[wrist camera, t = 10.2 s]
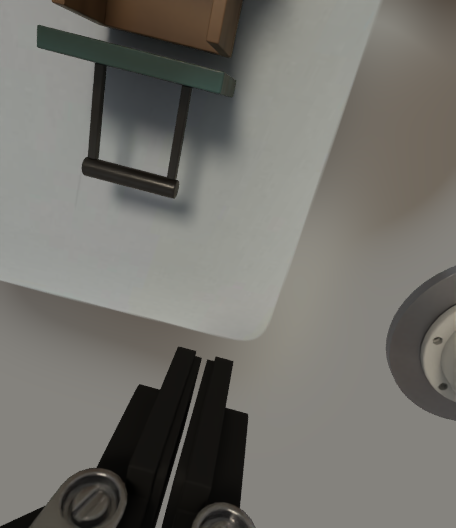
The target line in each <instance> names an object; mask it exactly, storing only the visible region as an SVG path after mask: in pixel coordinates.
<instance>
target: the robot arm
mask: <svg viewBox="0 0 456 528" xmlns="http://www.w3.org/2000/svg"><path fill="white" fill-rule="evenodd" d="M195 354H196V351H194V350H190V349H186V348H182V347H178V348H177V351H176V353H175V355H174V358H173V360H172V363H171V365H170V367H169V370H168V372H167V375H166V377H165V380H164V382H163V384H162V387H161V389H160V390H158V389H155V388H152V387H148V386H144V385H140V384H139V386H138V387H137V389H136V390H135V392H134V395H133V396H132V398H131V400H130V403H129V404H128V406H127V408H126V410H125V412H124V414H123V416H122V418H121V420H120V422H119V424H118V426H117V428H116V430H115V432H114V434H113V436H112V438H111V440H110V442H109V444H108V446H107V448H106V450H105V452H104V454H103V456H102V458H101V460H100V462H99V464H98V466H97V468H89V469H85V470H82V471H79V472H77V473H76V474H74V475H72V476H71V477H69V478H68V479H67V480H66V481H65V482H64V483H63V484H62V485H61V486H60V488H59V489H58V490H57V491H56V493H55V494H54V495H53V497H52V498H51V499H50V501H49V502H48V503H47V505H46V506H44V507H41V508H39V509H37V510H35V511H33V512H31V513H28V514H26V515H24V516H22V517H20V518H18V519H15V520H13V521H11V522H9V523H7V524H5V525H3V526H0V528H155V526H156V522H157V519H158V516H159V512H160V509H161V505H162V502H163V498H164V495H165V492H166V488H167V485H168V482H169V478H170V475H171V471H172V467H173V464H174V461H175V458H176V454H177V451H178V447H179V443H180V440H181V437H182V433H183V430H184V426H185V422H186V419H187V414H188V411H189V407H190V403H191V399H192V395H193V391H194V387H195V383H196V379H197V375H198V371H199V367H200V363H201V359H202V358H200V357H197V356H195ZM420 359H421V366H422V369H423V371H424V373H425V376H426V377H427V379H428V381H429V382H430V384H431V385H432V386H433V388H434V389H435V390H436V391H437V392H438V393H440V394H441V395H443V396H444V397H445V398H447V399H449V400H452V401H454V402H456V305H455V306H453V307H451V308H450V309H448V310H447V311H446V312H444V313H443V314H442V315H441V316H439V317H438V319H437V320H436V321H435V322H434V323H433V324H432V325H431V327H430V328H429V330H428V331H427V333H426V335H425V337H424V340H423V342H422V345H421V353H420ZM232 366H233V361H230V360H227V359H223V358H219V357H215V361H211V360H207V363H206V366H205V370H204V374H203V377H202V381H201V384H200V388H199V391H198V395H197V399H196V402H195V406H194V409H193V413H192V416H191V420H190V424H189V427H188V431H187V435H186V438H185V442H184V445H183V449H182V453H181V456H180V459H179V463H178V467H177V470H176V474H175V478H174V481H173V485H172V490H171V493H170V497H169V501H168V505H167V509H166V512H165V516H164V520H163V524H162V528H255V526H254V524H253V522H252V520H251V519H250V517H248V515H247V514H246V513H245V512H244V511H243V510H241V509H240V500H241V489H242V479H243V468H244V458H245V446H246V436H247V425H248V414H246V413H243V412H239V411H235V410H232V409H228V408H225V407H226V401H227V395H228V389H229V384H230V377H231V371H232Z"/></svg>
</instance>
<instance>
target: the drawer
mask: <svg viewBox="0 0 456 528" xmlns="http://www.w3.org/2000/svg"><path fill="white" fill-rule="evenodd" d="M52 2H53V3H55V4H57V5H59V6H61V7H63V8H65V9H67V10H69V11H71V12H73V13H76V14H78V15H80V16H82V17H84V18H86V19H88V20H90V21H92V22H94V23H96V24H99V25H102V26H105V27H109V28H113V29H117V30H121V31H125V32H129V33H133V34H137V35H141V36H145V37H149V38H153V39H157V40H161V41H165V42H169V43H173V44H176V45H180V46H184V47H188V48H192V49H196V50H200V51H204V52H208V53H212V54H216V55H220V56H224V57H228V58H231V56H232V51H233V46H234V41H235V37H236V32H237V27H238V22H239V17H240V13H241V8H242V3H243V0H52ZM37 47H38V48H41V49H45V50H49V51H53V52H57V53H60V54H64V55H68V56H72V57H76V58H80V59H83V60H87V61H91V62H95V71H94V84H93V97H92V110H91V123H90V136H89V149H88V157H86V158H85V159H84V161H83V164H82V173H83V174H84V175H85V176H89V177H93V178H97V179H100V180H104V181H108V182H112V183H116V184H119V185H123V186H127V187H131V188H135V189H139V190H142V191H146V192H150V193H154V194H158V195H161V196H165V197H169V198H173V199H174V198H175V197H176V195H177V193H178V189H179V181H178V180H176V178H177V173H178V167H179V161H180V156H181V150H182V144H183V139H184V133H185V127H186V122H187V116H188V110H189V104H190V99H191V93H192V87H193V88H197V89H201V90H205V91H208V92H212V93H216V94H220V95H224V96H228V97H233V94H234V90H235V85H236V80H234V79H233V78H232V77H230V76H229V75H227V74H226V73H225V72H222V71H218V70H214V69H210V68H207V67H203V66H199V65H195V64H191V63H187V62H183V61H179V60H175V59H171V58H167V57H163V56H159V55H155V54H152V53H148V52H144V51H140V50H136V49H132V48H128V47H124V46H120V45H116V44H112V43H108V42H104V41H100V40H96V39H93V38H89V37H85V36H81V35H77V34H73V33H69V32H65V31H61V30H57V29H53V28H49V27H45V26H41V25H38V26H37ZM106 65H107V66H111V67H115V68H119V69H122V70H126V71H130V72H134V73H138V74H142V75H146V76H150V77H154V78H158V79H162V80H165V81H169V82H173V83H177V84H181V85H182V90H181V96H180V102H179V108H178V114H177V120H176V126H175V132H174V138H173V144H172V150H171V156H170V162H169V168H168V174H167V177H164V176H160V175H157V174H153V173H149V172H145V171H141V170H138V169H134V168H130V167H126V166H122V165H118V164H115V163H111V162H107V161H103V160H99V159H98V158H99V148H100V137H101V126H102V114H103V103H104V92H105V81H106V70H107V66H106Z"/></svg>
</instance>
